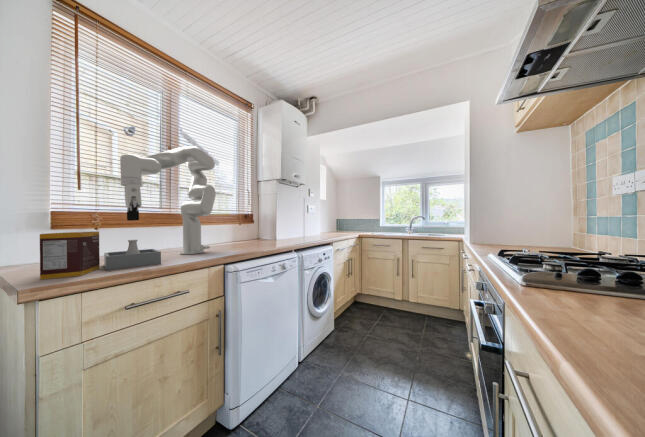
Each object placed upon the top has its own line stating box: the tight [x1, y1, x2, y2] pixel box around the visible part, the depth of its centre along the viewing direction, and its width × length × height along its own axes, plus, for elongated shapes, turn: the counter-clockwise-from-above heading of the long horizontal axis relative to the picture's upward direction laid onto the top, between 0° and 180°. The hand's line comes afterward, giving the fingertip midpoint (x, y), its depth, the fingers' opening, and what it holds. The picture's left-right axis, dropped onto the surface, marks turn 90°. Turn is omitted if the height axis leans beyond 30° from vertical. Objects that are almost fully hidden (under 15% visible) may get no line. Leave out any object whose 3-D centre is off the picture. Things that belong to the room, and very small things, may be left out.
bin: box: [103, 248, 162, 271], centre depth 103 cm, size 18×18×6 cm
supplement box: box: [39, 230, 101, 280], centre depth 86 cm, size 10×15×16 cm
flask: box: [126, 239, 140, 254], centre depth 104 cm, size 7×7×10 cm
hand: (132, 220), depth 104 cm, fingers open, 9 cm apart
